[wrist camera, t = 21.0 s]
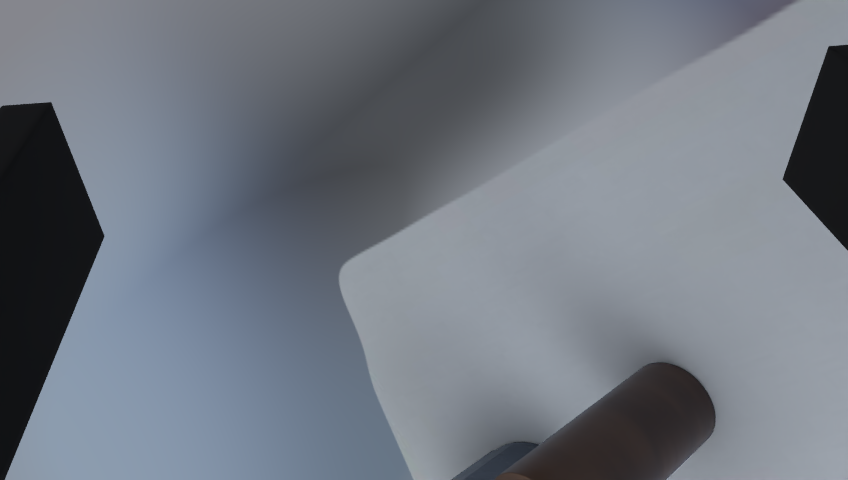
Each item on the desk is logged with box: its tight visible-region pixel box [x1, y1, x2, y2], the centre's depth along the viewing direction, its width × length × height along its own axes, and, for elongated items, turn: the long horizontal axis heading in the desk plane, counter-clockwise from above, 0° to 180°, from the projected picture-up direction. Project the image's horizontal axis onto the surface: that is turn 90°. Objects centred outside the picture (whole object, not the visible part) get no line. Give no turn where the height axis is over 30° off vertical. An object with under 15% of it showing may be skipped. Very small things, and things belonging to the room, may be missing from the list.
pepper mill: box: [494, 363, 715, 480], centre depth 33 cm, size 5×5×14 cm
